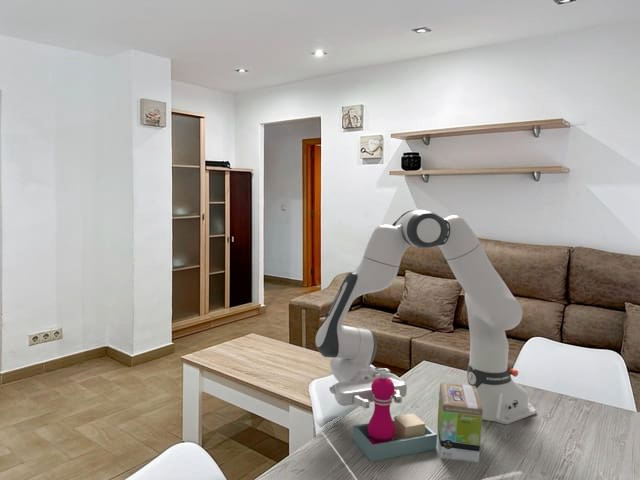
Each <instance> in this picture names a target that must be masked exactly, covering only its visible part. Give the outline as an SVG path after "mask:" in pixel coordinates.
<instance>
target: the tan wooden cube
mask: <svg viewBox="0 0 640 480" xmlns="http://www.w3.org/2000/svg"><path fill="white" fill-rule="evenodd" d="M393 419H394V426H395V435H394V437H393V438H394V439H395V440H401V439H406V438H411V437H417V436H422V435H425V425H426V422H424V421H423V420H422V419H421V418H420V417H418V416H417V415H416V414H415V413H407V414H403V415H397V416H394V417H393Z"/></svg>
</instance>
